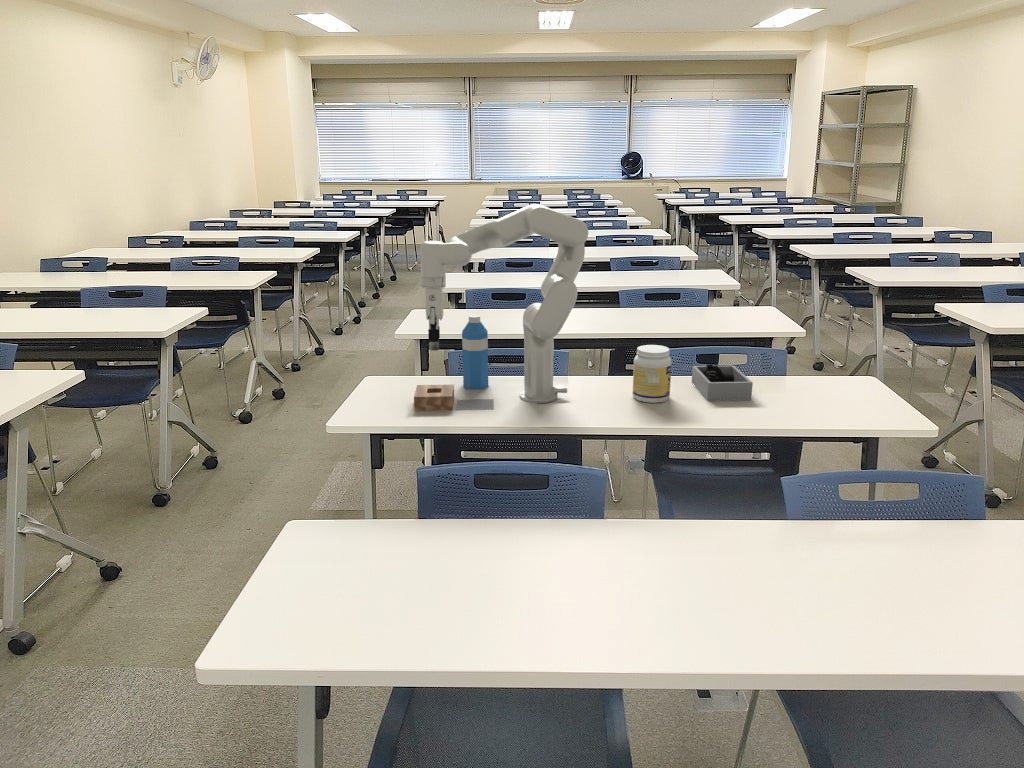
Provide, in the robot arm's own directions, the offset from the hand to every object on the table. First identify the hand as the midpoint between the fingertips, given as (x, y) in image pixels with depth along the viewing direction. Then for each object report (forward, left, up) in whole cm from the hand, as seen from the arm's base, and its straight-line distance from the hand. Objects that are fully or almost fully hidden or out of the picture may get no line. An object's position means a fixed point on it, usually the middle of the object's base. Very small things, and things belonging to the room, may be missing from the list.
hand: (434, 339), depth 232 cm
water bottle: (-12, -19, -22) cm, 32 cm away
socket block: (+1, 0, -22) cm, 22 cm away
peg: (0, 0, -3) cm, 3 cm away
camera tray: (-95, -10, -22) cm, 98 cm away
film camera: (-94, -10, -22) cm, 98 cm away
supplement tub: (-70, -4, -22) cm, 74 cm away
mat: (-12, +1, -22) cm, 25 cm away
